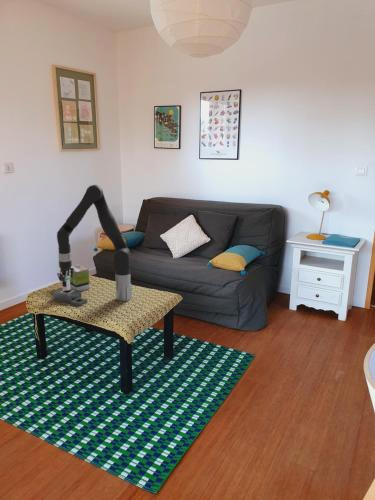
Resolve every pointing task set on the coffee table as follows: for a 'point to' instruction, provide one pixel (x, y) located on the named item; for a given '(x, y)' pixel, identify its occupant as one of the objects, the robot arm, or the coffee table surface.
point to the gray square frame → (78, 302)
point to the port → (66, 295)
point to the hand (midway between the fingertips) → (66, 285)
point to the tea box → (80, 278)
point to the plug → (67, 283)
